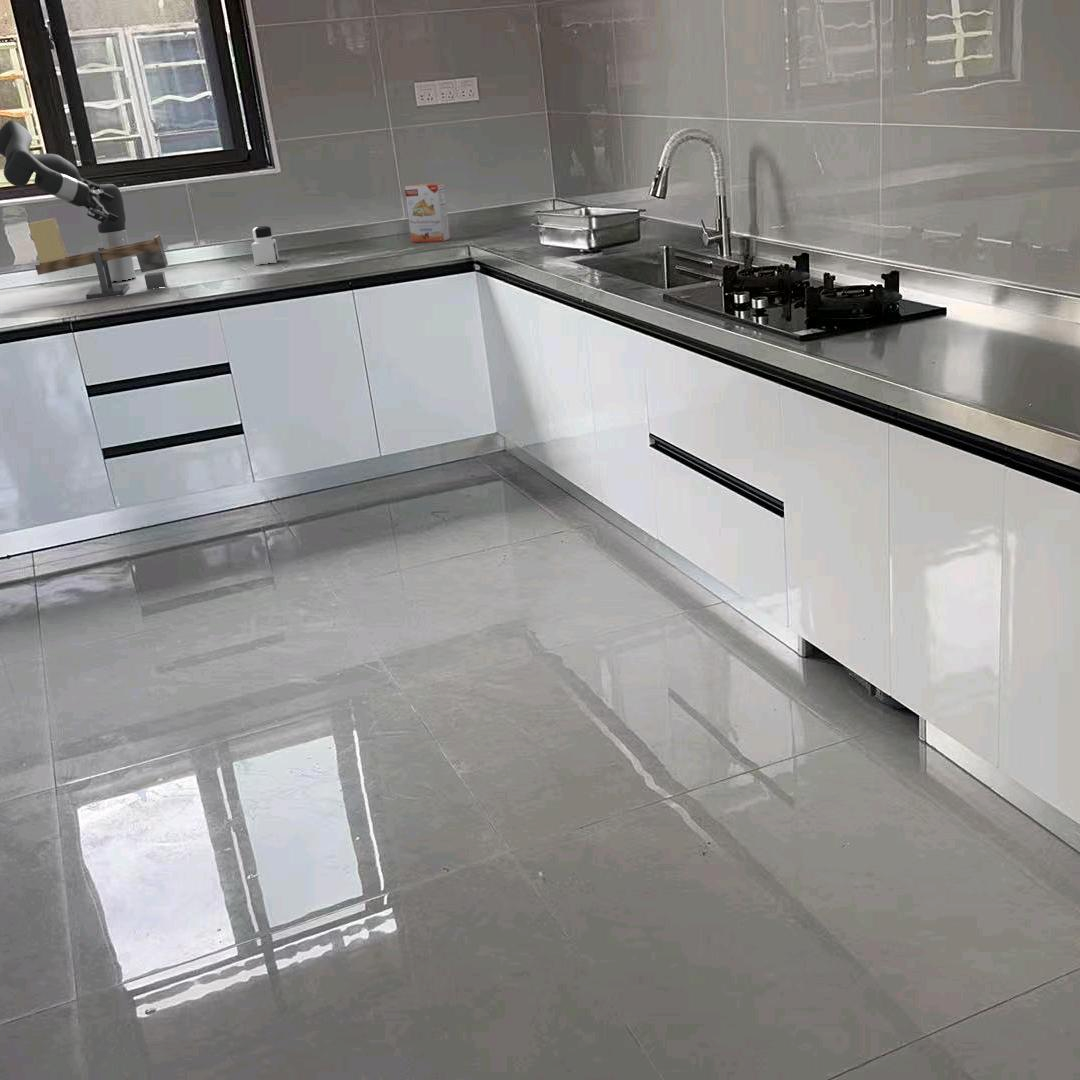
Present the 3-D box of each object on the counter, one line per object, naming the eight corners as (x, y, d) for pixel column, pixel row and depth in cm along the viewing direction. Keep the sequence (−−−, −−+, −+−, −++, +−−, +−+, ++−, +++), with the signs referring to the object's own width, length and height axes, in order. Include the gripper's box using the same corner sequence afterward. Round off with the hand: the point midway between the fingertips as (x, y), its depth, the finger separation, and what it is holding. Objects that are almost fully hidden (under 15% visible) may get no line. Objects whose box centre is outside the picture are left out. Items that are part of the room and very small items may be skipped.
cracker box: (410, 243, 458) (403, 186, 451) (418, 240, 464) (411, 184, 456) (443, 241, 453) (437, 184, 445) (451, 239, 458) (444, 182, 450)
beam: (168, 264, 412) (159, 234, 408) (165, 267, 403) (156, 237, 400) (48, 289, 407) (39, 259, 403) (44, 293, 399) (34, 262, 395)
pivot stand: (168, 283, 417) (159, 240, 412) (164, 290, 402) (155, 245, 397) (93, 292, 413) (83, 249, 408) (86, 299, 399) (76, 255, 393)
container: (279, 260, 447) (273, 224, 442) (275, 263, 440) (269, 226, 435) (258, 262, 447) (252, 226, 442) (254, 265, 440) (248, 229, 435)
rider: (69, 260, 403) (55, 217, 398) (66, 261, 399) (52, 219, 393) (44, 265, 402) (30, 222, 397) (42, 267, 398) (27, 224, 392)
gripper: (58, 180, 382) (103, 200, 394) (66, 214, 376) (111, 233, 389) (72, 165, 378) (117, 185, 391) (80, 199, 372) (125, 218, 385)
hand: (114, 209), depth 390 cm, fingers open, 8 cm apart
